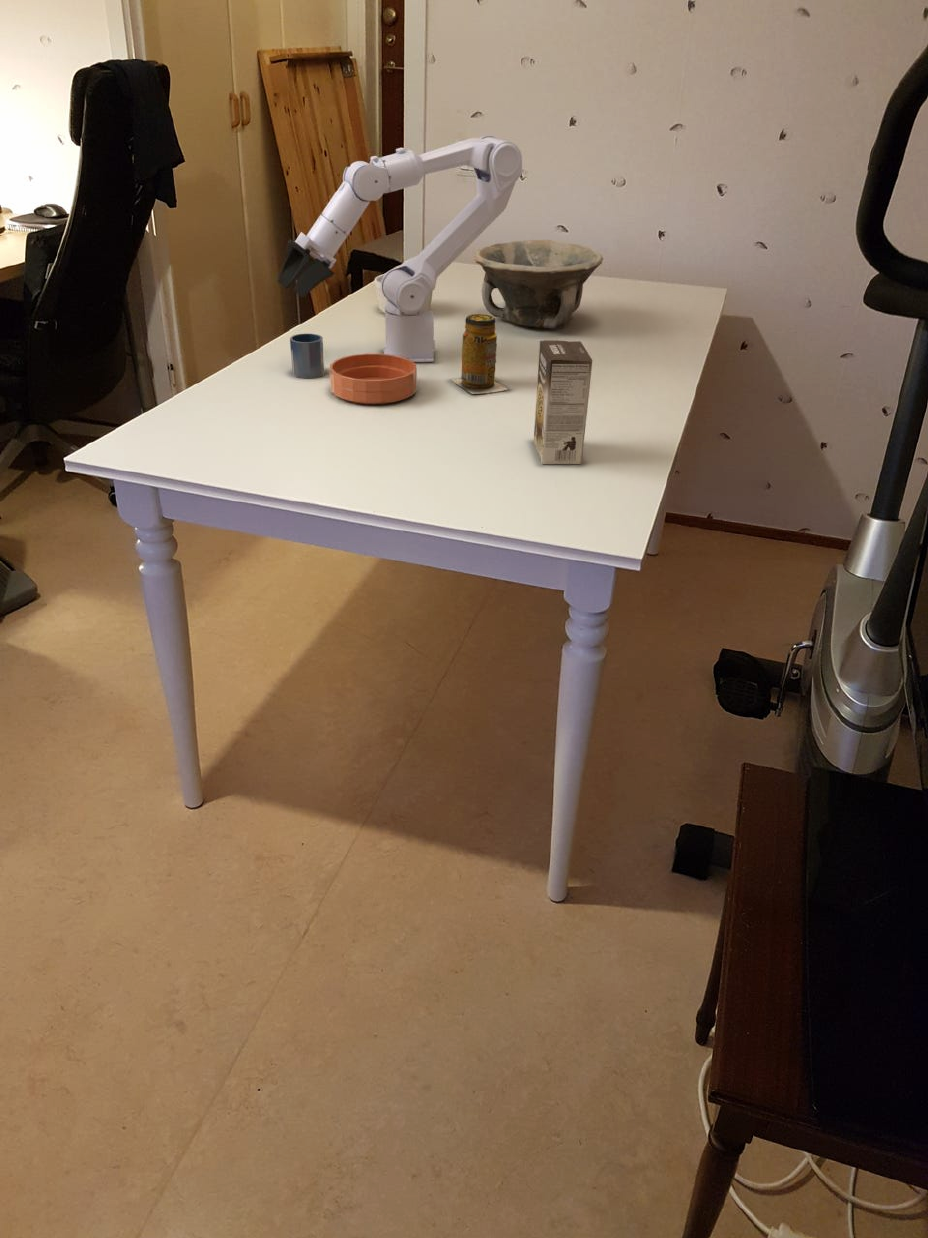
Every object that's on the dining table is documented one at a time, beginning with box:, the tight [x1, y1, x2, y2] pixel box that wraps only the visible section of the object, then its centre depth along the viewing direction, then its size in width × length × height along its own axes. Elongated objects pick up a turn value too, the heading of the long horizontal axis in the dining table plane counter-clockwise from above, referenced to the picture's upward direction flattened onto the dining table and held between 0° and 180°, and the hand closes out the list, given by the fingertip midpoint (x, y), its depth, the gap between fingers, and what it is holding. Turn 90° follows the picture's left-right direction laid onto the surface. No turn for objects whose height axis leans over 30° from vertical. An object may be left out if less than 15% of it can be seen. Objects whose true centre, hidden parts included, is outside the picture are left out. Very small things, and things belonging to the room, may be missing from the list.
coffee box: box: [533, 339, 593, 465], centre depth 141 cm, size 9×6×16 cm
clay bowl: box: [329, 352, 418, 405], centre depth 165 cm, size 15×15×4 cm
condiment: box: [451, 313, 509, 395], centre depth 167 cm, size 7×8×12 cm
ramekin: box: [374, 273, 434, 315], centre depth 209 cm, size 13×13×7 cm
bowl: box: [474, 239, 604, 330], centre depth 202 cm, size 27×26×15 cm
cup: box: [289, 333, 325, 379], centre depth 172 cm, size 6×6×6 cm
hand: (290, 289), depth 169 cm, fingers open, 7 cm apart
